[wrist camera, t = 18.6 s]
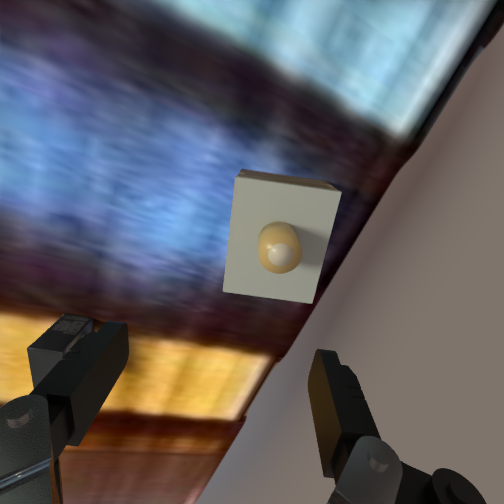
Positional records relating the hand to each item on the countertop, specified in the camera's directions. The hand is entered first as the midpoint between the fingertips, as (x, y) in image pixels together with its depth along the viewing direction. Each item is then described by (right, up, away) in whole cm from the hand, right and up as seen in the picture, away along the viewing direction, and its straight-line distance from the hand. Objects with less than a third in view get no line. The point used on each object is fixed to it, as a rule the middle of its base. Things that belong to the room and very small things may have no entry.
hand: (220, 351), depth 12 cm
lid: (+5, +5, +30) cm, 31 cm away
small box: (-35, -14, +49) cm, 62 cm away
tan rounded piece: (+5, +6, +29) cm, 30 cm away
